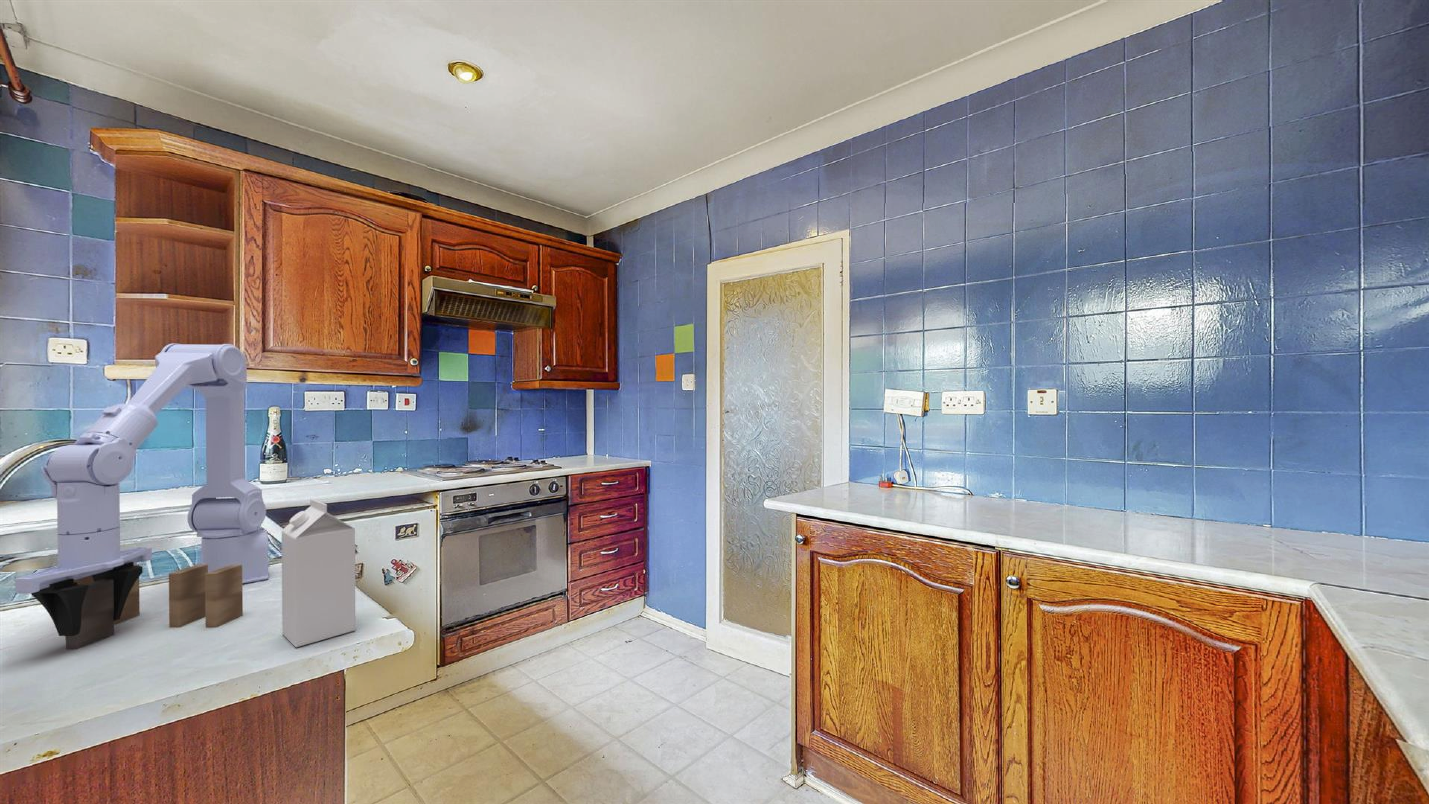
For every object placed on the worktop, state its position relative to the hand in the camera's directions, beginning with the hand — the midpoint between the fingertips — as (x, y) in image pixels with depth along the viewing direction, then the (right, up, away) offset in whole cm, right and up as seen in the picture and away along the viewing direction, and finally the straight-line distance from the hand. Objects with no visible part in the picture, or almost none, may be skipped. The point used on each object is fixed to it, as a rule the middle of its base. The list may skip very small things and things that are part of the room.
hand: (90, 627), depth 76 cm
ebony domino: (0, -2, 0) cm, 2 cm away
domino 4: (+13, -2, +7) cm, 14 cm away
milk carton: (+30, -2, +3) cm, 30 cm away
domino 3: (+7, -2, +7) cm, 10 cm away
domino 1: (-9, -2, +7) cm, 12 cm away
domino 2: (-4, -2, +7) cm, 8 cm away
